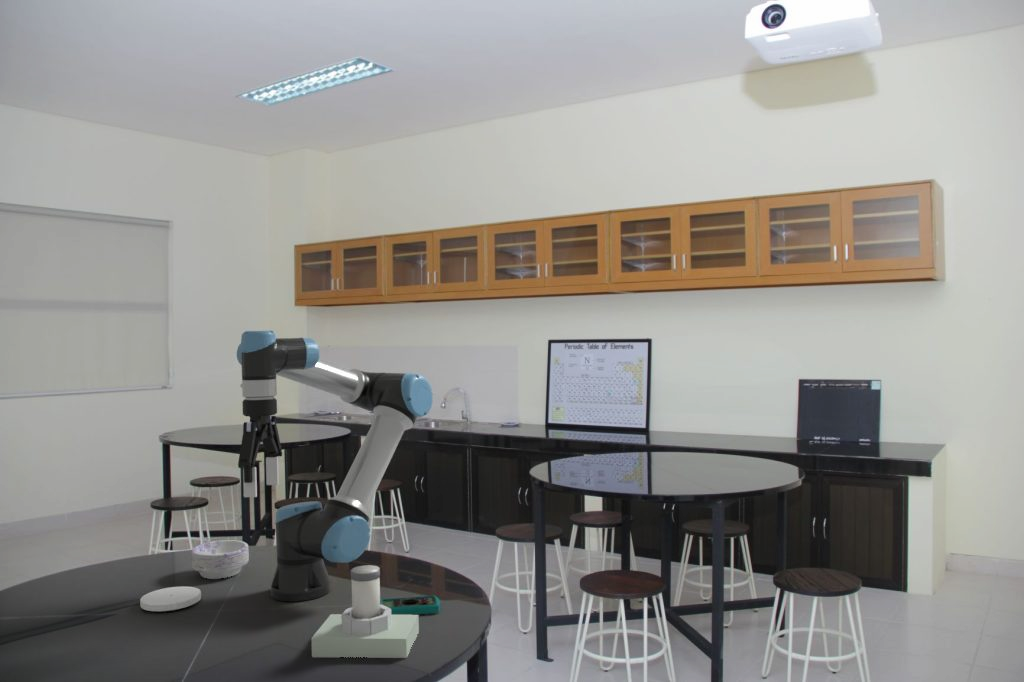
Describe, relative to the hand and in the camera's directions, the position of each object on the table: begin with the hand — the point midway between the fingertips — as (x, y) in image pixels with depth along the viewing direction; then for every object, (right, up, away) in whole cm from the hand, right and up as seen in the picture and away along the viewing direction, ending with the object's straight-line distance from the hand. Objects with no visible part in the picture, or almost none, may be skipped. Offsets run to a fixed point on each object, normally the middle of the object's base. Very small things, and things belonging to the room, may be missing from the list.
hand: (261, 490), depth 185 cm
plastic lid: (-28, -33, +18) cm, 47 cm away
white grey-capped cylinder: (+26, -27, -10) cm, 39 cm away
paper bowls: (-25, -32, +42) cm, 58 cm away
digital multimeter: (+32, -32, +10) cm, 46 cm away
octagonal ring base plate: (+26, -31, -10) cm, 42 cm away
